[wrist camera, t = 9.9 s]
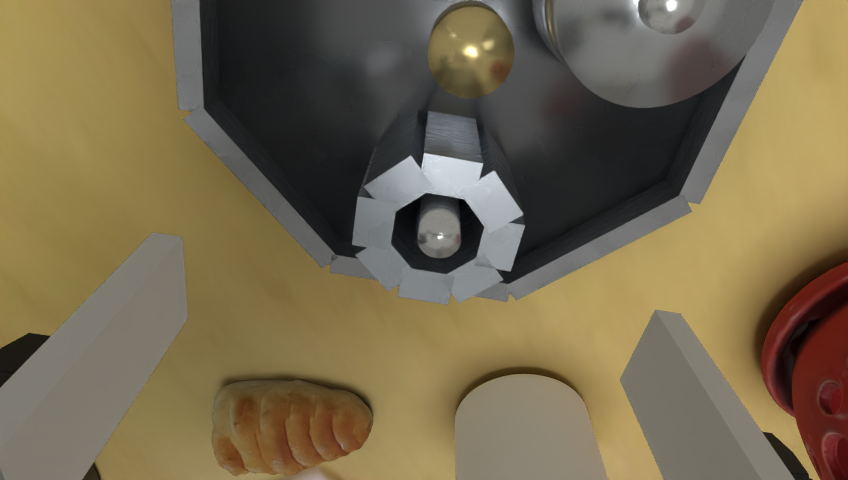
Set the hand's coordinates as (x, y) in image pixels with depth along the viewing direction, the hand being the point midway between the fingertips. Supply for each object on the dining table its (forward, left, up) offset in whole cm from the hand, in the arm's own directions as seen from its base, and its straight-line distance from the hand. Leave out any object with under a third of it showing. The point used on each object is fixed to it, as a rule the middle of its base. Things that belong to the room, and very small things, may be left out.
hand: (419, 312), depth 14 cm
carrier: (0, +6, -11) cm, 12 cm away
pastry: (-6, -18, -11) cm, 22 cm away
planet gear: (0, 0, -10) cm, 10 cm away
